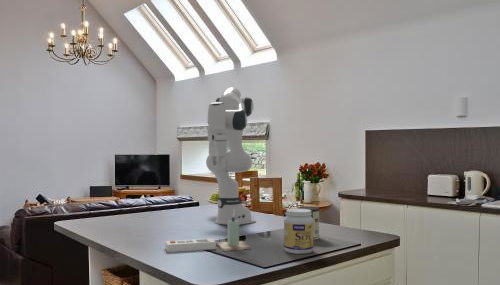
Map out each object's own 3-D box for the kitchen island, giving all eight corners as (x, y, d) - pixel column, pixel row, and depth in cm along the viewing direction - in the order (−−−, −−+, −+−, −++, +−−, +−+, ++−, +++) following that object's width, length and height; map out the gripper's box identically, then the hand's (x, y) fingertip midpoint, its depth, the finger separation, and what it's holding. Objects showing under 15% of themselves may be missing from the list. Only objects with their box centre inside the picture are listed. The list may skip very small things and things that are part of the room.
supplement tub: (292, 255, 182) (292, 213, 182) (278, 249, 193) (278, 208, 193) (319, 253, 187) (319, 211, 187) (303, 246, 198) (304, 207, 198)
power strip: (211, 245, 199) (211, 237, 199) (215, 248, 192) (215, 240, 192) (165, 248, 193) (165, 239, 193) (167, 252, 186) (167, 243, 186)
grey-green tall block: (236, 243, 199) (236, 216, 199) (238, 245, 195) (239, 217, 195) (227, 243, 198) (227, 216, 198) (229, 245, 194) (230, 218, 194)
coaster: (242, 243, 204) (242, 240, 204) (250, 249, 193) (250, 246, 193) (216, 244, 200) (216, 242, 200) (223, 251, 189) (223, 248, 189)
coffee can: (299, 234, 223) (300, 205, 223) (320, 236, 220) (321, 207, 220) (294, 239, 213) (295, 208, 213) (316, 240, 210) (317, 209, 210)
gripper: (205, 136, 225) (205, 164, 225) (215, 136, 206) (215, 167, 206) (218, 136, 227) (218, 164, 227) (229, 136, 207) (229, 167, 208)
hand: (216, 165), depth 216 cm, fingers open, 8 cm apart
